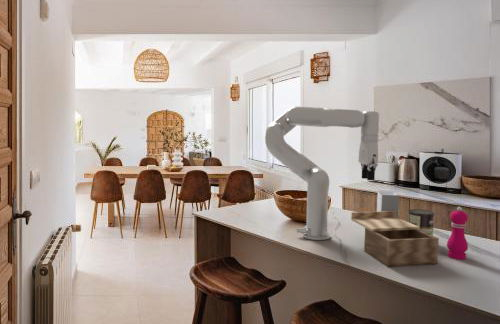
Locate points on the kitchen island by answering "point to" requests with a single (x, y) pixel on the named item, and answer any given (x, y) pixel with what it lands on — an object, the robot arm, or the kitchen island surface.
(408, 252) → the walnut box
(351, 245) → the kitchen island surface
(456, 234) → the pepper mill
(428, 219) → the coffee can
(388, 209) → the hard drive box
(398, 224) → the box lid
